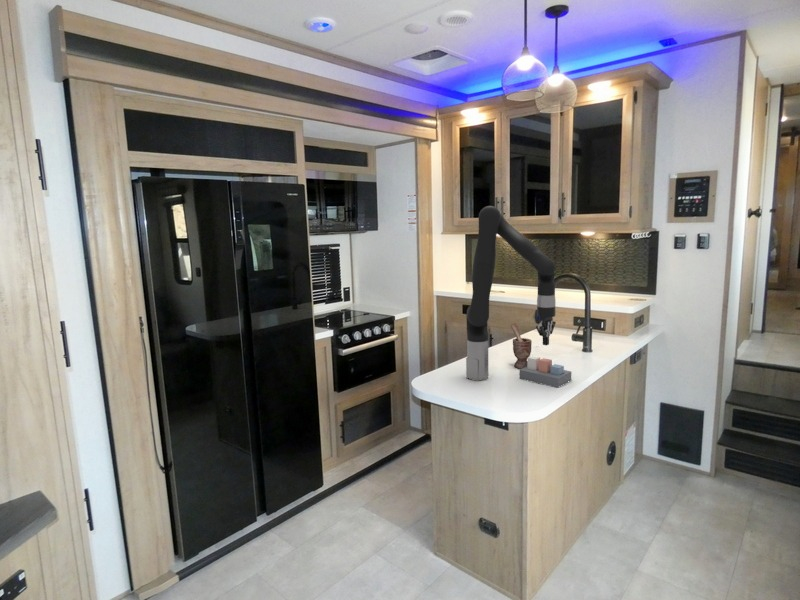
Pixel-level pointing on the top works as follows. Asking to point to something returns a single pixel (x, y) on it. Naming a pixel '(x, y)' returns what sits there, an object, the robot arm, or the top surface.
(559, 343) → the top surface
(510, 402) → the top surface
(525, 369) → the grey flat block
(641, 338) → the top surface
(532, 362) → the white key
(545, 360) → the coral key
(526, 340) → the mortar and pestle
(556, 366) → the slate-blue key
